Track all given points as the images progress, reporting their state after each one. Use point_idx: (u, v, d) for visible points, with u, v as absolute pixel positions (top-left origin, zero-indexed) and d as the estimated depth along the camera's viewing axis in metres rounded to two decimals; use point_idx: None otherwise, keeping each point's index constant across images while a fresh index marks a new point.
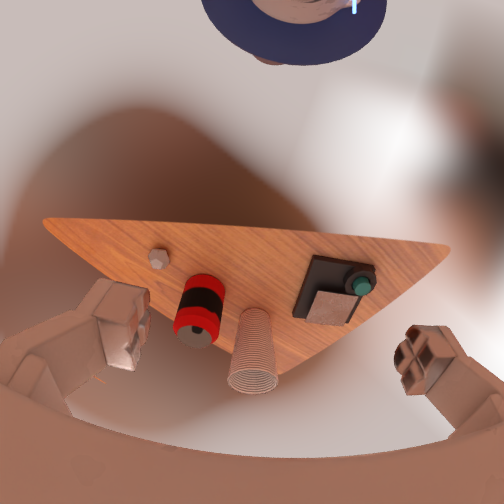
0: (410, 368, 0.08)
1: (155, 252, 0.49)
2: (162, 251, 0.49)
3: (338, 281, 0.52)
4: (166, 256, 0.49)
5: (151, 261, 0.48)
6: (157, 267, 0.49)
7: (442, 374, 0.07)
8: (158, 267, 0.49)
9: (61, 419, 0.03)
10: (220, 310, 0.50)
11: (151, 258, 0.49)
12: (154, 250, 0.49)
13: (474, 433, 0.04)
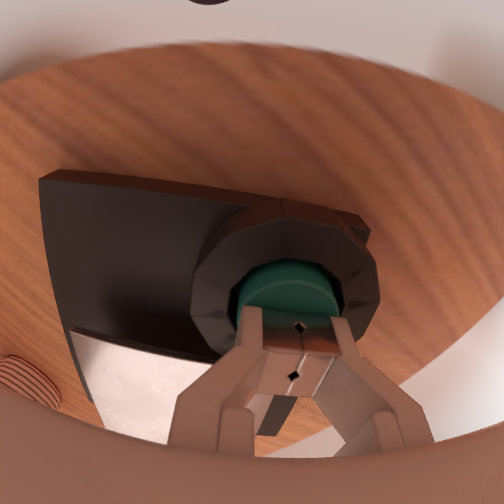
0: None
1: None
2: None
3: (177, 294, 0.11)
4: None
5: None
6: None
7: (327, 375, 0.07)
8: None
9: (61, 419, 0.03)
10: None
11: None
12: None
13: (474, 433, 0.04)
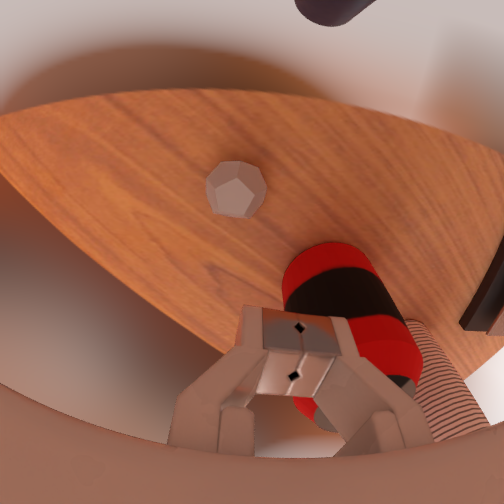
0: None
1: (231, 166, 0.17)
2: (250, 166, 0.18)
3: None
4: (261, 180, 0.18)
5: (219, 189, 0.17)
6: (235, 208, 0.17)
7: (326, 375, 0.07)
8: (238, 209, 0.17)
9: (61, 419, 0.03)
10: None
11: (218, 182, 0.17)
12: (227, 163, 0.18)
13: (474, 433, 0.04)
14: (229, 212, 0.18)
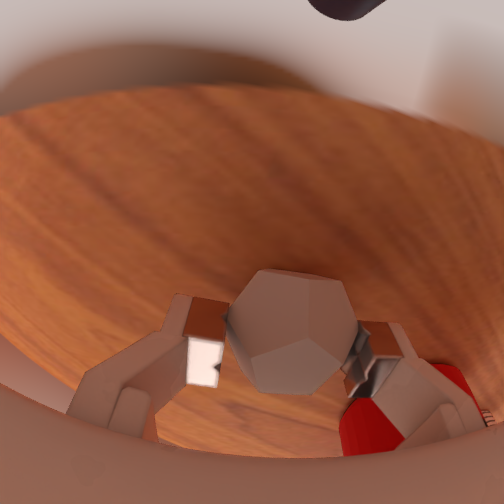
0: (352, 367, 0.08)
1: (287, 293, 0.07)
2: (328, 285, 0.08)
3: None
4: (350, 315, 0.08)
5: (263, 358, 0.07)
6: (295, 387, 0.07)
7: (388, 376, 0.07)
8: (302, 387, 0.07)
9: (61, 419, 0.03)
10: None
11: (258, 339, 0.07)
12: (275, 280, 0.08)
13: (474, 433, 0.04)
14: (281, 392, 0.07)
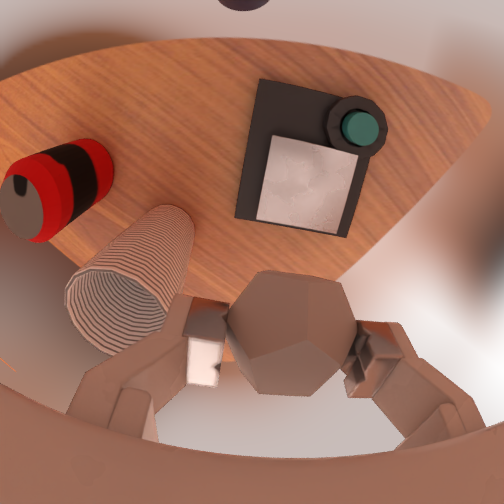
0: (352, 368, 0.08)
1: (285, 295, 0.07)
2: (327, 287, 0.08)
3: (314, 129, 0.26)
4: (349, 317, 0.08)
5: (262, 360, 0.07)
6: (294, 389, 0.07)
7: (388, 376, 0.07)
8: (301, 388, 0.07)
9: (61, 419, 0.03)
10: (83, 174, 0.23)
11: (257, 341, 0.07)
12: (274, 282, 0.08)
13: (474, 433, 0.04)
14: (281, 393, 0.07)
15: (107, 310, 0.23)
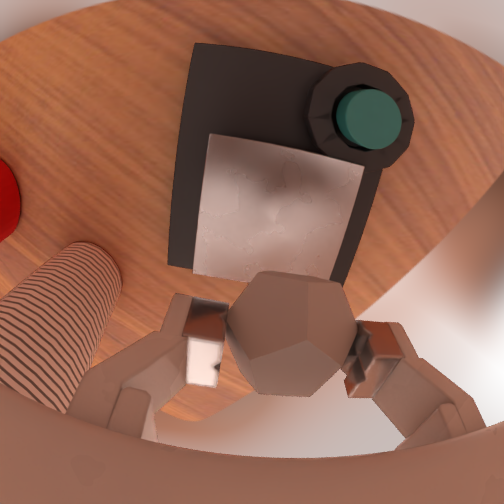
0: (352, 368, 0.08)
1: (286, 295, 0.07)
2: (327, 288, 0.08)
3: (288, 121, 0.15)
4: (349, 317, 0.08)
5: (262, 360, 0.07)
6: (294, 389, 0.07)
7: (389, 376, 0.07)
8: (301, 389, 0.07)
9: (61, 419, 0.03)
10: None
11: (257, 341, 0.07)
12: (274, 283, 0.08)
13: (474, 433, 0.04)
14: (280, 394, 0.07)
15: None
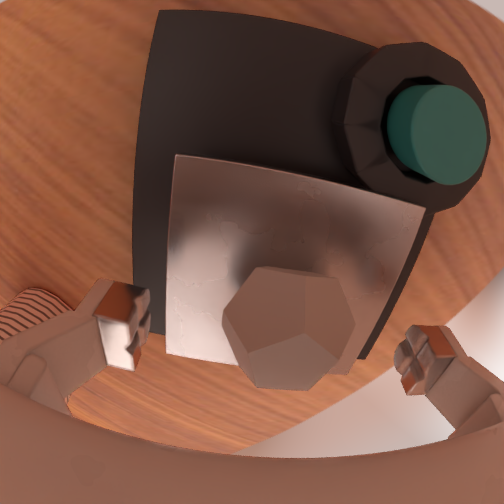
0: (410, 368, 0.08)
1: (283, 290, 0.07)
2: (324, 282, 0.08)
3: (307, 129, 0.09)
4: (346, 312, 0.08)
5: (260, 353, 0.07)
6: (292, 383, 0.07)
7: (442, 374, 0.07)
8: (299, 382, 0.07)
9: (61, 419, 0.03)
10: None
11: (255, 335, 0.07)
12: (272, 277, 0.08)
13: (474, 433, 0.04)
14: (279, 387, 0.08)
15: None
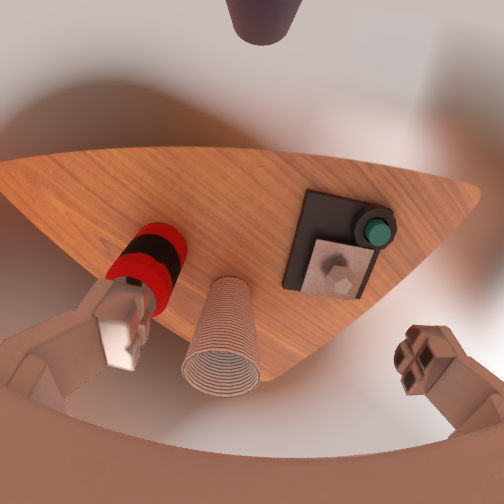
0: (410, 368, 0.08)
1: (341, 270, 0.35)
2: (348, 268, 0.35)
3: (344, 229, 0.37)
4: (353, 275, 0.35)
5: (337, 283, 0.34)
6: (342, 291, 0.35)
7: (442, 374, 0.07)
8: (344, 291, 0.35)
9: (61, 419, 0.03)
10: (174, 265, 0.34)
11: (336, 279, 0.35)
12: (338, 267, 0.35)
13: (474, 433, 0.04)
14: (339, 292, 0.35)
15: (200, 363, 0.34)
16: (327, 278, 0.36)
